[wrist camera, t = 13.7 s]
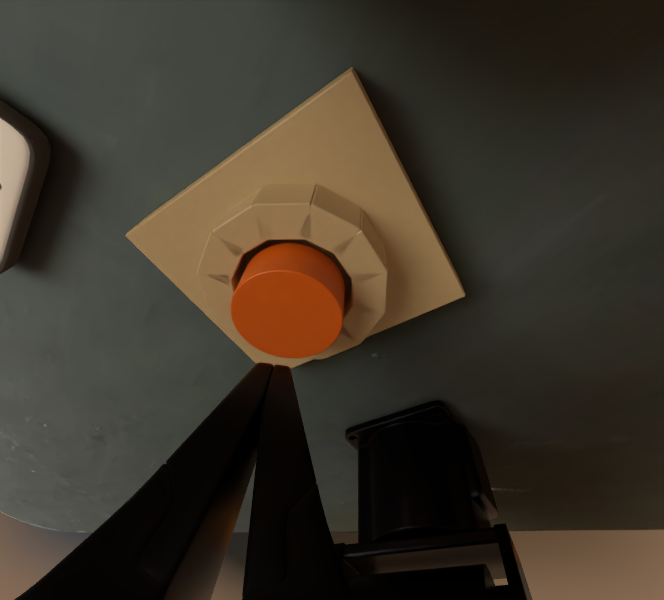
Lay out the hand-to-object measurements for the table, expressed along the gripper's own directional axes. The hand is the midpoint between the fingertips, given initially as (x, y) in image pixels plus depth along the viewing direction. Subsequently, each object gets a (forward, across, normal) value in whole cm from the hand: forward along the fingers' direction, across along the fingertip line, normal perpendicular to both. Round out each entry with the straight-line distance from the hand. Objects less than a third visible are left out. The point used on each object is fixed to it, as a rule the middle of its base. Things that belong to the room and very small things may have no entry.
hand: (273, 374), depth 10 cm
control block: (+7, 0, 0) cm, 7 cm away
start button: (+4, 0, 0) cm, 4 cm away
